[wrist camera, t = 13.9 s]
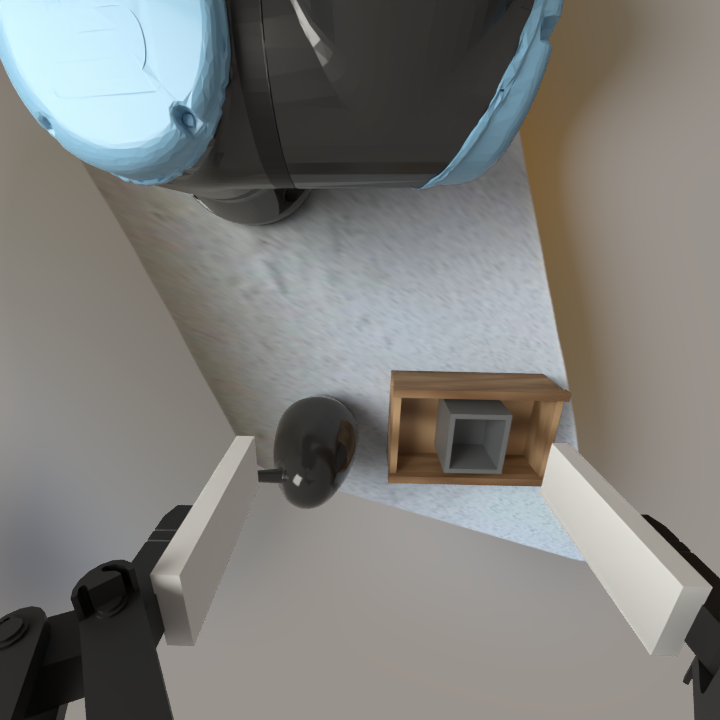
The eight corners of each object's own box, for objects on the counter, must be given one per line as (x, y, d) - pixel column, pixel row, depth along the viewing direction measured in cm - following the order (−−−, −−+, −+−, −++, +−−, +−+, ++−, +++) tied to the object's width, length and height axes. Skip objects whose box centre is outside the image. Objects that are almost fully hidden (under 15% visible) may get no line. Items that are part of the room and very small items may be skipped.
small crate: (439, 391, 45) (450, 414, 39) (493, 392, 45) (512, 415, 39) (433, 444, 48) (443, 472, 42) (484, 445, 48) (501, 474, 42)
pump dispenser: (293, 374, 45) (261, 439, 31) (369, 397, 46) (371, 470, 32) (275, 439, 48) (238, 524, 34) (346, 458, 49) (339, 549, 35)
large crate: (389, 369, 45) (393, 389, 39) (544, 373, 45) (571, 393, 39) (385, 453, 49) (388, 482, 43) (526, 457, 49) (547, 486, 43)
